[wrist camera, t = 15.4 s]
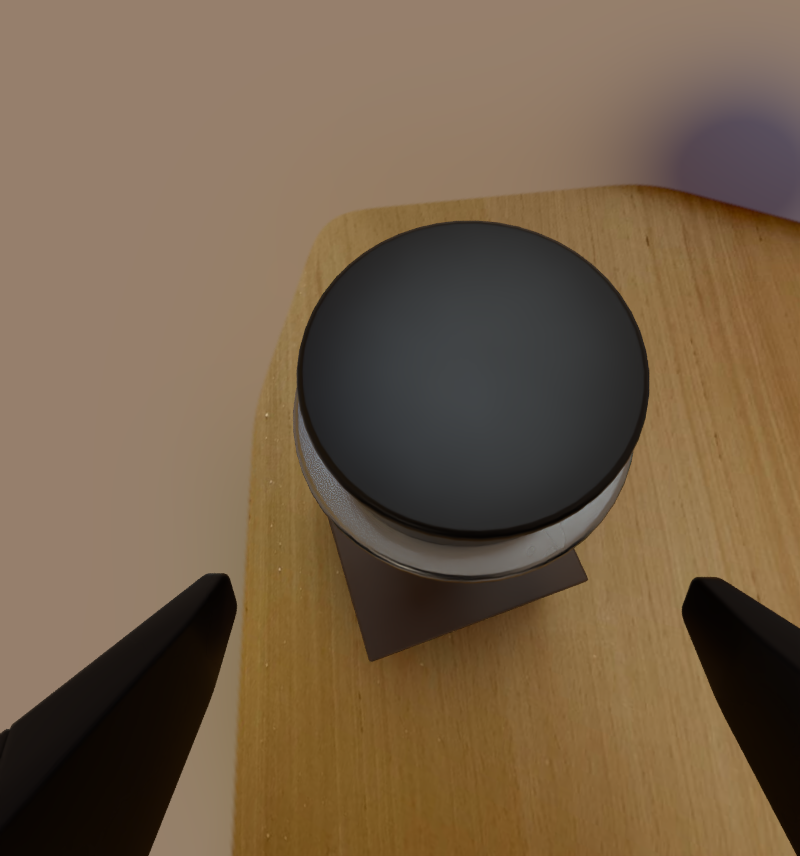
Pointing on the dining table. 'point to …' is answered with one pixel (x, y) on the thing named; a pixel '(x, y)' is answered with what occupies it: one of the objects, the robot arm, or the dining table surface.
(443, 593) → the riser
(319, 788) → the dining table surface
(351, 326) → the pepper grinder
